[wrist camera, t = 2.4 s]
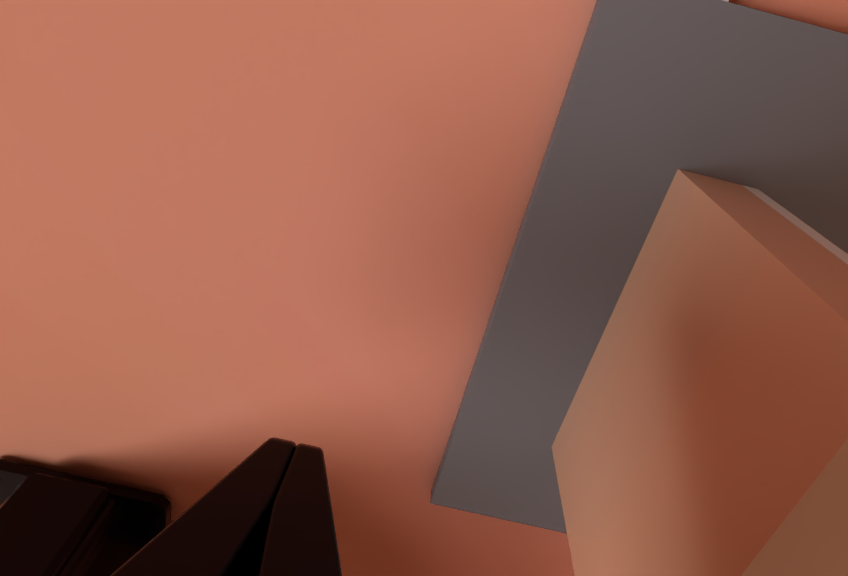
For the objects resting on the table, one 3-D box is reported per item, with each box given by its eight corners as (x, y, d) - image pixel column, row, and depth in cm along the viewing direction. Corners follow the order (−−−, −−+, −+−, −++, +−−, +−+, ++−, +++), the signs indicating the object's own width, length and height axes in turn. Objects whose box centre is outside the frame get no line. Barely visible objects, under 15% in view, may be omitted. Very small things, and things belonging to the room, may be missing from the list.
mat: (869, 588, 21) (878, 601, 20) (431, 491, 20) (430, 503, 19) (1286, 154, 13) (1315, 160, 13) (607, -29, 12) (612, -30, 12)
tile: (613, 460, 18) (707, 770, 11) (551, 446, 18) (605, 750, 11) (758, 189, 14) (1061, 409, 7) (677, 169, 14) (899, 370, 7)
